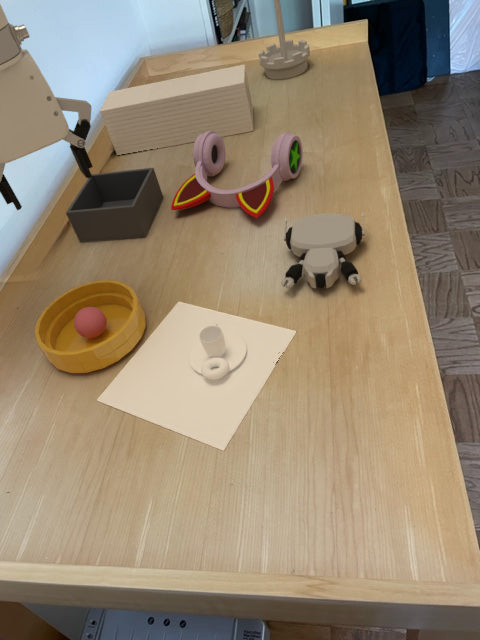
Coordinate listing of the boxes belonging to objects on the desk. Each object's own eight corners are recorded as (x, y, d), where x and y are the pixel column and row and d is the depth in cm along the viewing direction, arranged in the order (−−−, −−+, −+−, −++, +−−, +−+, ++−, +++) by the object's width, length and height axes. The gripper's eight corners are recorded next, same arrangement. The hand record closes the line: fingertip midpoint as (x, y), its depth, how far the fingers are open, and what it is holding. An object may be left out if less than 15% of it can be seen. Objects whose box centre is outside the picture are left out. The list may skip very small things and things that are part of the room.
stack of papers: (253, 111, 126) (244, 64, 119) (253, 131, 119) (244, 82, 111) (125, 135, 131) (109, 91, 124) (117, 156, 124) (99, 111, 116)
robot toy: (366, 298, 76) (364, 229, 85) (364, 275, 72) (363, 206, 82) (280, 301, 79) (288, 234, 88) (275, 279, 75) (284, 212, 85)
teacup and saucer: (225, 389, 68) (218, 368, 65) (175, 372, 71) (166, 352, 69) (257, 341, 73) (252, 320, 70) (208, 327, 76) (201, 307, 74)
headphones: (301, 126, 98) (256, 170, 85) (305, 176, 104) (264, 225, 91) (209, 124, 107) (154, 165, 93) (217, 171, 113) (167, 216, 99)
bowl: (32, 376, 76) (17, 355, 73) (71, 303, 87) (59, 282, 84) (129, 375, 73) (118, 353, 70) (158, 299, 83) (149, 277, 80)
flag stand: (316, 72, 136) (302, -70, 115) (266, 85, 136) (243, -54, 116) (305, 56, 145) (290, -78, 125) (258, 68, 146) (236, -63, 125)
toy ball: (77, 345, 78) (63, 323, 75) (87, 322, 82) (75, 301, 78) (105, 344, 77) (93, 322, 74) (115, 321, 81) (104, 299, 77)
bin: (80, 242, 100) (65, 212, 95) (103, 203, 109) (90, 174, 104) (145, 237, 97) (133, 206, 92) (163, 197, 106) (153, 167, 101)
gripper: (49, 20, 62) (104, 154, 74) (-99, 73, 58) (-16, 206, 70) (66, 30, 57) (122, 172, 69) (-95, 89, 53) (-6, 230, 65)
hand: (52, 189), depth 69 cm, fingers open, 9 cm apart
